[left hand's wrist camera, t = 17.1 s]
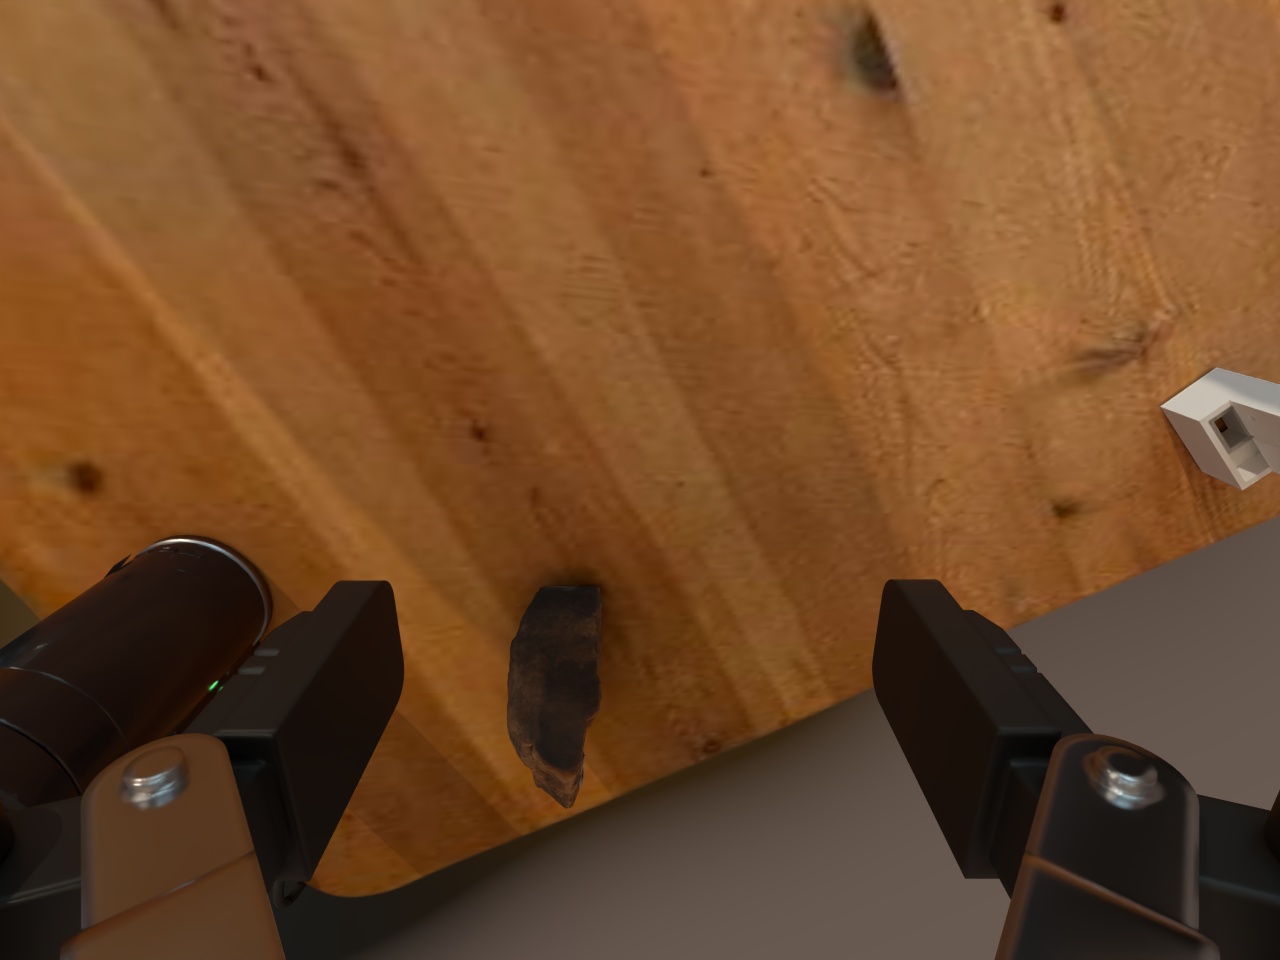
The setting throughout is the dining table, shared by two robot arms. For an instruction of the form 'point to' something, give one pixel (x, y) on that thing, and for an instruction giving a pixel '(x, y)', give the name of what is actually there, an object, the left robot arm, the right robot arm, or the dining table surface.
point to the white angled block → (1230, 425)
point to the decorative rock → (555, 686)
